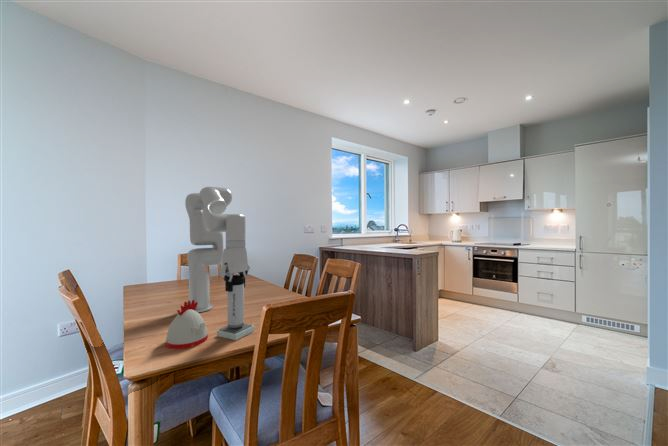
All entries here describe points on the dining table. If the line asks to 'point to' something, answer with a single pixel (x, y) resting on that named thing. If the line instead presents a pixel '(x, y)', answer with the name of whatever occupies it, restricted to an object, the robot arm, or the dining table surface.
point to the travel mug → (236, 303)
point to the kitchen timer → (186, 328)
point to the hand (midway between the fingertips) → (235, 288)
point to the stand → (235, 332)
